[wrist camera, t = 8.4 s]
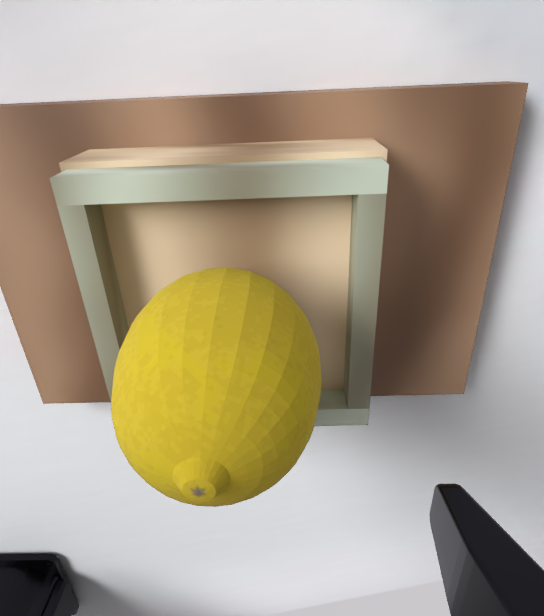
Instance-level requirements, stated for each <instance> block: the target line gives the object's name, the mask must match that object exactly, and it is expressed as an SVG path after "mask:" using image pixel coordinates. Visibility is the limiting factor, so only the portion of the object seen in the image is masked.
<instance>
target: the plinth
mask: <svg viewBox="0 0 544 616" xmlns="http://www.w3.org/2000/svg"><path fill="white" fill-rule="evenodd" d="M527 87H528V83H521V82H486V83H464V84H442V85H419V86H397V87H375V88H353V89H330V90H308V91H286V92H263V93H241V94H219V95H197V96H174V97H152V98H130V99H108V100H85V101H63V102H41V103H18V104H0V287H1V290H2V292H3V295H4V298H5V301H6V303H7V306H8V309H9V311H10V314H11V317H12V320H13V322H14V325H15V328H16V330H17V333H18V336H19V339H20V341H21V344H22V347H23V349H24V352H25V355H26V358H27V360H28V363H29V366H30V369H31V371H32V374H33V377H34V379H35V382H36V385H37V388H38V390H39V393H40V396H41V398H42V401H43V404H45V403H89V402H111V398H112V387H113V377H114V369H115V365H116V360H117V357H118V354H119V351H120V348H121V346H122V344H123V342H124V340H125V337H126V335H127V333H128V331H129V329H130V327H131V324H132V322H133V321H134V319H135V318H136V316H137V315H138V314H139V313H140V311H141V310H142V309H143V308H144V307H145V306H146V305H147V304H148V302H149V301H150V300H151V299H152V298H153V297H154V296H155V295H156V294H157V293H158V292H159V291H160V290H161V289H163V288H165V287H166V286H168V285H169V284H171V283H173V282H174V281H176V280H177V279H179V278H181V277H182V276H184V275H187V274H191V273H194V272H197V271H201V270H204V269H210V268H227V267H230V268H236V269H241V270H247V271H251V272H253V273H256V274H258V275H260V276H263V277H265V278H267V279H269V280H271V281H272V282H274V283H275V284H276V285H278V286H279V287H280V288H282V289H283V290H284V291H286V292H287V293H288V294H289V295H290V296H291V297H292V299H293V300H294V301H295V302H296V304H297V305H298V306H299V307H300V309H301V310H302V311H303V312H304V314H305V316H306V318H307V320H308V322H309V324H310V327H311V329H312V331H313V334H314V336H315V339H316V342H317V345H318V349H319V356H320V366H321V379H322V384H321V395H320V401H319V405H318V410H317V415H316V419H315V424H314V426H335V425H368V417H369V405H370V396H391V395H434V394H464V390H465V385H466V380H467V375H468V371H469V366H470V361H471V356H472V351H473V347H474V342H475V337H476V332H477V327H478V323H479V318H480V313H481V308H482V303H483V299H484V294H485V289H486V284H487V279H488V275H489V270H490V265H491V260H492V255H493V251H494V246H495V241H496V236H497V231H498V227H499V222H500V217H501V212H502V207H503V203H504V198H505V193H506V188H507V183H508V179H509V174H510V169H511V164H512V159H513V155H514V150H515V145H516V140H517V135H518V131H519V126H520V121H521V116H522V111H523V107H524V102H525V97H526V92H527Z"/></svg>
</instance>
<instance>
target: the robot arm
mask: <svg viewBox="0 0 544 616" xmlns="http://www.w3.org/2000/svg"><path fill="white" fill-rule="evenodd" d="M430 523H431V529H432V533H433V538H434V542H435V547H436V551H437V556H438V560H439V565H440V569H441V574H442V578H443V583H444V587H445V592H446V596H447V601H448V605H449V609H450V613H451V616H544V570H543V569H542V568H541V567H540V566H539V565H538V564H537V563H536V562H535V561H534V560H533V559H532V558H531V557H530V556H529V555H528V554H527V553H526V552H525V551H524V550H523V549H522V548H521V547H520V546H519V545H518V544H517V543H516V541H515V540H514V539H513V538H512V537H511V536H510V535H509V534H508V533H507V532H506V531H505V530H504V529H503V528H502V527H501V526H500V525H499V524H498V523H497V522H496V521H495V520H494V519H493V518H492V517H491V516H490V515H489V514H488V513H487V512H486V511H485V510H484V509H483V508H482V507H481V506H480V505H479V504H478V503H477V502H476V501H475V500H474V499H473V498H472V497H471V496H470V495H469V494H468V493H467V492H466V491H465V489H464V488H462V487H461V486H460V485H458V484H438V485H436V487H435V489H434V494H433V499H432V505H431V510H430ZM78 608H79V604H78V602H77V600H76V598H75V595H74V593H73V591H72V589H71V586H70V584H69V582H68V580H67V577H66V575H65V573H64V571H63V568H62V566H61V564H60V561H59V559H58V558H57V557H56V556H55V555H52V554H14V555H0V616H71V615H74V614H76V613H77V610H78Z"/></svg>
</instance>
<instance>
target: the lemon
mask: <svg viewBox="0 0 544 616" xmlns="http://www.w3.org/2000/svg"><path fill="white" fill-rule="evenodd" d="M321 384H322V379H321V366H320V356H319V349H318V345H317V342H316V339H315V336H314V334H313V331H312V329H311V327H310V324H309V322H308V320H307V318H306V316H305V314H304V312H303V311H302V310H301V309H300V307H299V306H298V305H297V304H296V302H295V301H294V300H293V299H292V297H291V296H290V295H289V294H288V293H287V292H286V291H284V290H283V289H282V288H280V287H279V286H278V285H276V284H275V283H274V282H272V281H271V280H269V279H267V278H265V277H263V276H260V275H258V274H256V273H253V272H251V271H247V270H241V269H236V268H230V267H227V268H210V269H204V270H201V271H197V272H194V273H191V274H187V275H184V276H182V277H181V278H179V279H177V280H176V281H174V282H173V283H171V284H169V285H168V286H166V287H165V288H163V289H161V290H160V291H159V292H158V293H157V294H156V295H155V296H154V297H153V298H152V299H151V300H150V301H149V302H148V304H147V305H146V306H145V307H144V308H143V309H142V310H141V311H140V313H139V314H138V315H137V316H136V318H135V319H134V321H133V322H132V324H131V327H130V329H129V331H128V333H127V335H126V337H125V340H124V342H123V344H122V346H121V348H120V351H119V354H118V357H117V360H116V365H115V369H114V377H113V387H112V398H111V412H112V420H113V424H114V429H115V433H116V437H117V440H118V443H119V445H120V448H121V450H122V451H123V453H124V455H125V457H126V458H127V460H128V462H129V464H130V465H131V466H132V467H133V469H134V470H135V471H136V472H137V473H138V474H139V475H140V476H141V477H142V478H143V479H144V480H145V481H146V482H147V483H148V484H149V485H151V486H152V487H153V488H155V489H156V490H158V491H160V492H161V493H163V494H164V495H166V496H168V497H170V498H173V499H175V500H178V501H180V502H183V503H188V504H192V505H197V506H214V507H215V506H224V505H232V504H235V503H238V502H241V501H244V500H247V499H250V498H253V497H255V496H257V495H259V494H260V493H262V492H264V491H266V490H267V489H269V488H270V487H272V486H273V485H275V484H276V483H277V482H278V481H279V480H280V479H281V478H283V477H284V476H285V475H286V474H287V473H288V472H289V471H290V470H291V468H292V467H293V466H294V465H295V464H296V462H297V460H298V459H299V457H300V455H301V453H302V452H303V450H304V448H305V446H306V445H307V443H308V441H309V439H310V436H311V434H312V431H313V427H314V424H315V419H316V415H317V410H318V405H319V401H320V395H321Z"/></svg>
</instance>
